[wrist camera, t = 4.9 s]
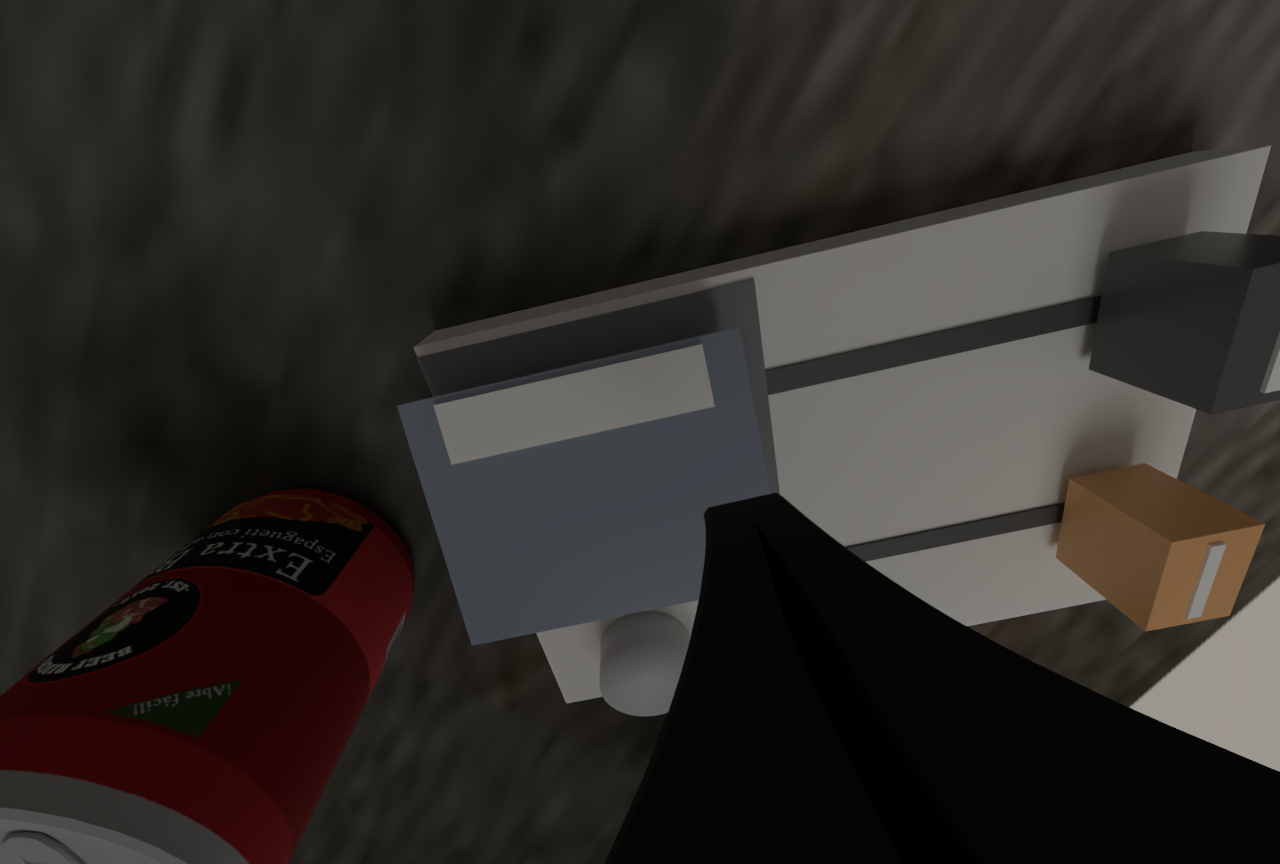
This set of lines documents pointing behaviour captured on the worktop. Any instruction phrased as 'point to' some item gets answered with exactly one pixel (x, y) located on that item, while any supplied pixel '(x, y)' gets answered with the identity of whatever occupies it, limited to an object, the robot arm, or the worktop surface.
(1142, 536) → the orange fader knob
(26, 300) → the worktop surface
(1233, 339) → the black fader knob
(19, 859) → the canned food
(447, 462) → the rocker
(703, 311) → the panel
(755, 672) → the robot arm
